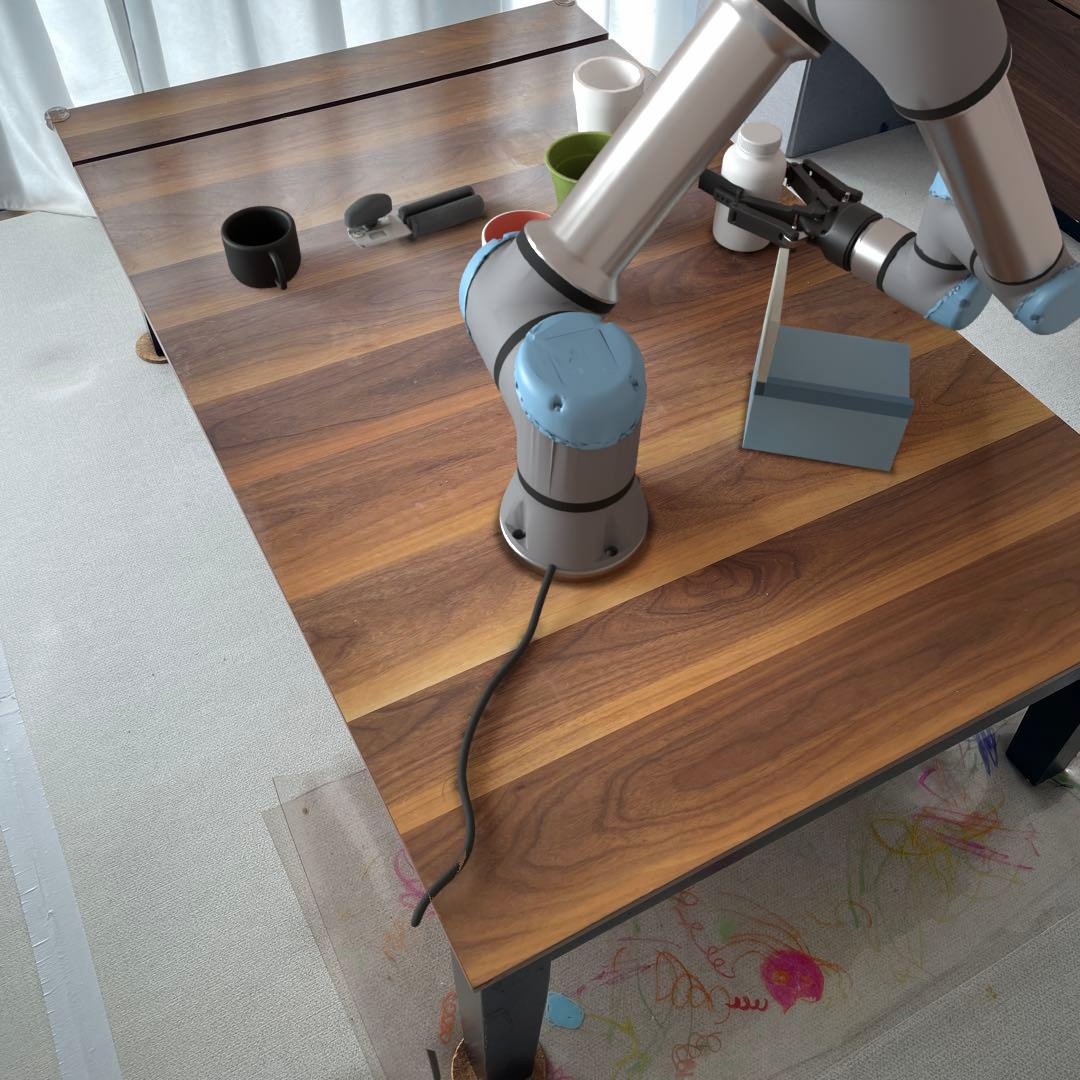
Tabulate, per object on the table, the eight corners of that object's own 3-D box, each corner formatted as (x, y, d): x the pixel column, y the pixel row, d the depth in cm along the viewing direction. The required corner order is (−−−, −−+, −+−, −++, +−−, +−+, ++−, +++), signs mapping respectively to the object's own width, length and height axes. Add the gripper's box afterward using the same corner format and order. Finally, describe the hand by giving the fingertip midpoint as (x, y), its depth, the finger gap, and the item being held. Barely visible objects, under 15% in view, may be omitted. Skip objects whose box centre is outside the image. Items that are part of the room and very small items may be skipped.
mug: (222, 264, 143) (210, 217, 137) (288, 244, 145) (279, 197, 140) (254, 318, 136) (242, 270, 130) (323, 296, 139) (315, 248, 133)
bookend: (889, 472, 121) (937, 344, 107) (742, 448, 123) (769, 320, 109) (891, 397, 128) (936, 269, 114) (752, 375, 130) (779, 247, 116)
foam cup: (648, 156, 159) (657, 69, 149) (616, 187, 154) (622, 99, 144) (591, 136, 162) (596, 49, 152) (558, 166, 157) (560, 78, 147)
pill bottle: (784, 234, 148) (805, 131, 136) (748, 262, 144) (767, 158, 132) (736, 210, 151) (752, 107, 139) (699, 236, 147) (713, 133, 136)
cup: (556, 333, 135) (558, 265, 127) (475, 322, 136) (472, 254, 128) (571, 283, 141) (574, 215, 133) (494, 272, 142) (492, 204, 134)
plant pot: (587, 195, 153) (590, 120, 144) (651, 233, 148) (659, 157, 139) (525, 231, 148) (524, 155, 139) (589, 271, 142) (593, 195, 134)
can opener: (359, 263, 143) (353, 220, 138) (343, 242, 146) (336, 200, 141) (488, 218, 149) (486, 176, 145) (469, 199, 152) (467, 157, 147)
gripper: (806, 307, 131) (665, 221, 142) (910, 236, 140) (770, 160, 151) (819, 254, 125) (671, 168, 136) (926, 184, 134) (780, 109, 145)
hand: (723, 164), depth 143 cm, fingers closed on pill bottle, 8 cm apart
